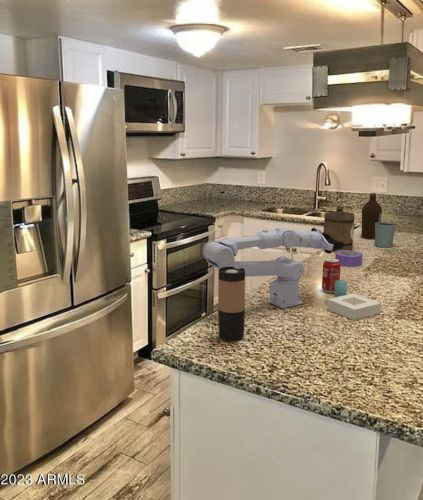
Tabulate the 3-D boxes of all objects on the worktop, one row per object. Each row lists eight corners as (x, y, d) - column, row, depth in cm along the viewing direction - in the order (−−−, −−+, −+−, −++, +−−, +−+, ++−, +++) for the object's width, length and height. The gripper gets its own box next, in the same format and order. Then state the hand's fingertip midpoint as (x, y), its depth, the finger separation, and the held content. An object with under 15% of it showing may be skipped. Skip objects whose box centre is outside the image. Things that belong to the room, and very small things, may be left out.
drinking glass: (370, 244, 265) (371, 222, 262) (387, 244, 267) (389, 221, 264) (379, 248, 255) (381, 225, 253) (397, 248, 257) (399, 225, 254)
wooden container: (358, 251, 250) (361, 207, 245) (331, 253, 246) (333, 208, 241) (343, 245, 264) (345, 203, 259) (317, 247, 260) (319, 204, 255)
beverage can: (326, 287, 191) (328, 257, 189) (341, 290, 187) (343, 259, 185) (318, 291, 186) (320, 260, 184) (334, 294, 183) (336, 262, 180)
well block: (354, 320, 158) (354, 309, 157) (326, 309, 168) (327, 299, 167) (380, 313, 164) (381, 303, 163) (352, 303, 174) (353, 293, 173)
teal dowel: (340, 303, 173) (341, 284, 172) (331, 300, 177) (332, 281, 175) (348, 301, 175) (349, 282, 174) (340, 298, 179) (341, 279, 177)
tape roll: (363, 267, 220) (364, 256, 219) (336, 266, 222) (336, 255, 221) (360, 261, 232) (360, 250, 230) (333, 260, 233) (334, 249, 232)
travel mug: (222, 343, 141) (222, 274, 136) (214, 333, 148) (214, 267, 143) (248, 340, 143) (249, 272, 138) (239, 330, 150) (240, 265, 145)
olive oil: (360, 239, 279) (363, 194, 273) (359, 235, 289) (362, 192, 283) (380, 240, 276) (383, 194, 271) (379, 236, 286) (382, 192, 281)
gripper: (321, 235, 165) (352, 238, 172) (296, 221, 177) (326, 224, 184) (315, 255, 167) (346, 257, 174) (291, 240, 179) (320, 242, 186)
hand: (335, 241), depth 179 cm, fingers open, 7 cm apart
